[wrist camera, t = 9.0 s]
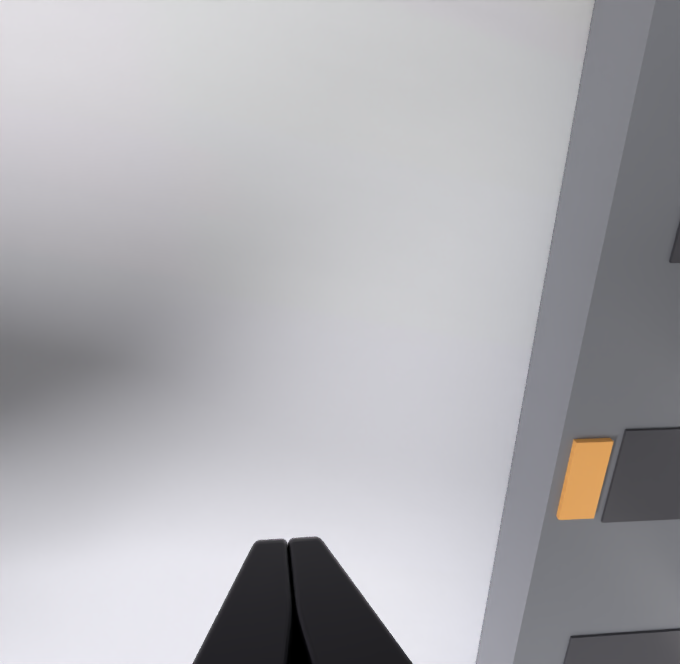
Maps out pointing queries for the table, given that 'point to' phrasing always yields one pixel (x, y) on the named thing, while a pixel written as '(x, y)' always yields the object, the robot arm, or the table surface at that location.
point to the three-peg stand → (603, 377)
